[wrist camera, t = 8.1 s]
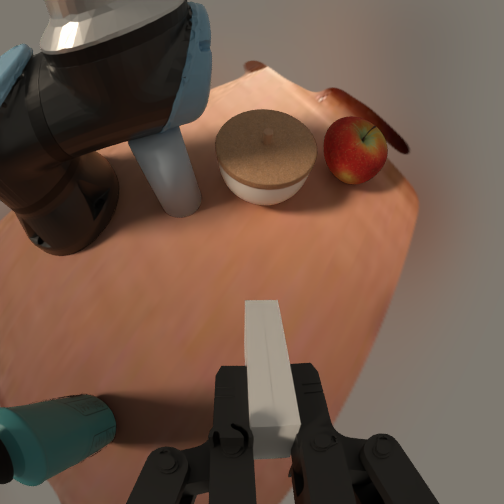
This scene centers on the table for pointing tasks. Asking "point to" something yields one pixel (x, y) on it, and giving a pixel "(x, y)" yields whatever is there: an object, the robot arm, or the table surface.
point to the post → (168, 171)
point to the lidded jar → (265, 155)
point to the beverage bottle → (52, 436)
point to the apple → (354, 150)
